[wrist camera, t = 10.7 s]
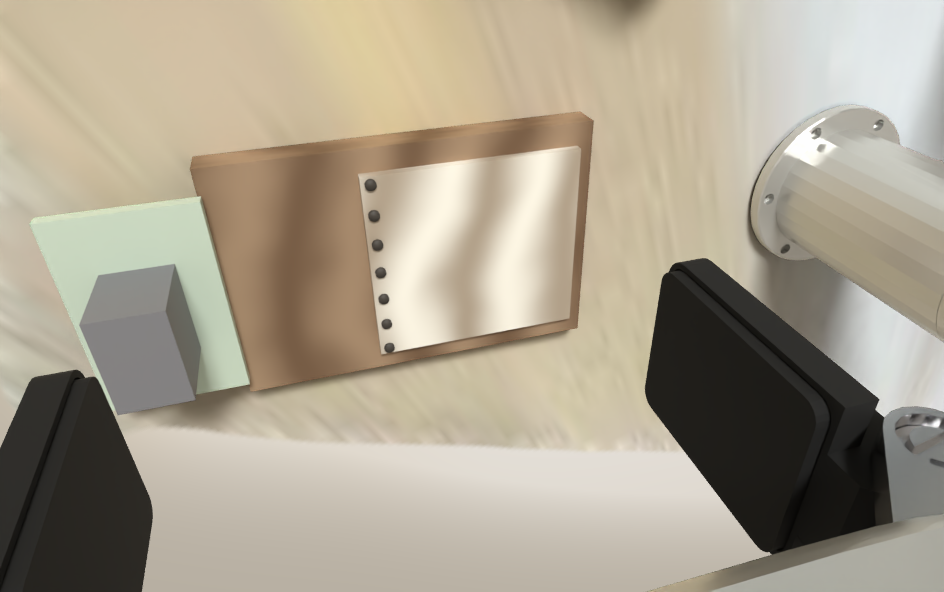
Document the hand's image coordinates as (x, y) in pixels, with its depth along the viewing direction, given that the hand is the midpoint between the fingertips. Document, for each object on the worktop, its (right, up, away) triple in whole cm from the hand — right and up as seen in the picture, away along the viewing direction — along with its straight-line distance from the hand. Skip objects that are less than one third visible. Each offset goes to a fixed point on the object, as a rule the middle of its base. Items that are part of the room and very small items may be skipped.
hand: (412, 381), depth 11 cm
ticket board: (-3, +5, +33) cm, 34 cm away
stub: (-18, +1, +28) cm, 33 cm away
